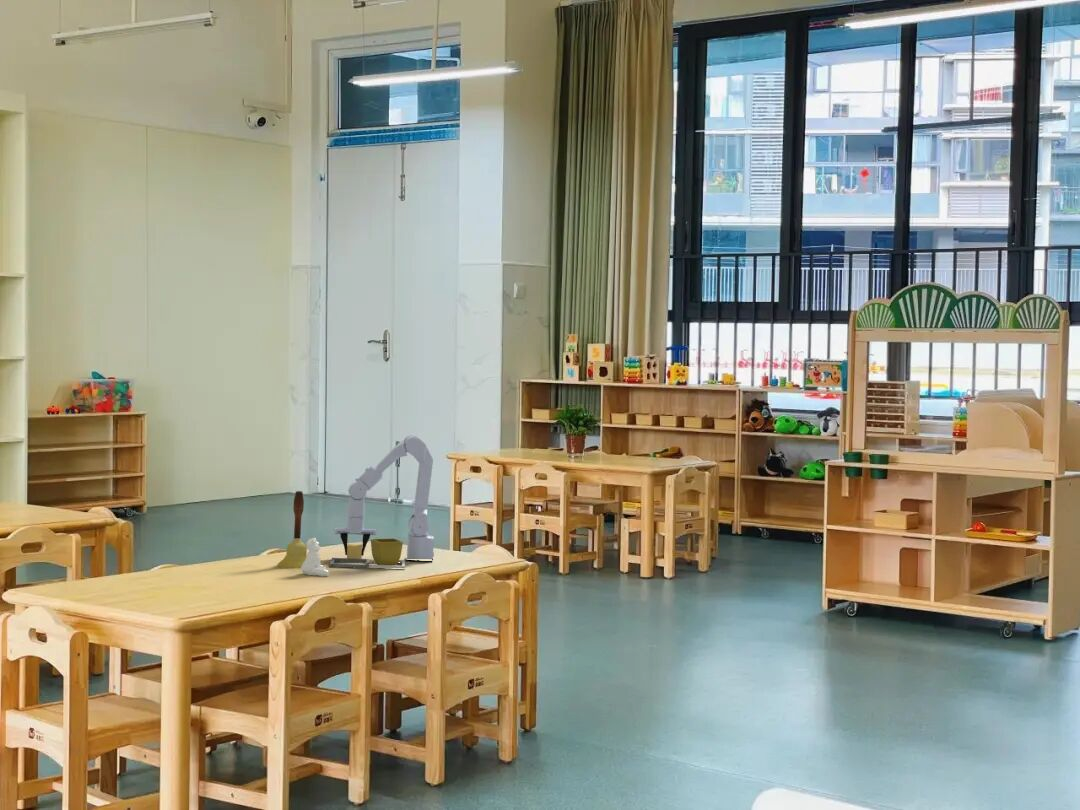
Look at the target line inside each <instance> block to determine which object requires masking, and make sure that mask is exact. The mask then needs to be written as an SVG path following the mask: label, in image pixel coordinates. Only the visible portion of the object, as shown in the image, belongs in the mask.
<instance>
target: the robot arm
mask: <svg viewBox="0 0 1080 810" xmlns="http://www.w3.org/2000/svg"><path fill="white" fill-rule="evenodd" d="M407 453H408V454H409V455H411V456H413V458H414V459H415V460H416V461H417V463H418V471H417V479H416V486H415V487H416V488H415V496H414V504H413V505H414V506H413V509H412V513H411V516H410V517H409V520H408V528H409V530H410V531H409V532H408V533H407V550H406V556H407V558H406V557H405V561H406V560H407V559H433V560H434V557H435V551H434V544H435V543H434V542H435V541H434V540H435V539H434V536H433V535H429V533H428V531H429V529H430V524H429V522H428V507H429V498H430V497H429V496H430V488H431V481H432V480H431V479H432V474H433V473H432V472H433V465H434V458H433V456H432V454H431V452H430V451H429V448H428V447H427V445H426V443H425V442H424V441H423V440H422V439H421V438H419V437H418V436H416V435H408V436H406V437H405V438H404V440H402V441H400V442H398V443H397V444H396V445H395V446H394V447H393V448H392V449H391V450H390V451H389V452H388V453H387V454H386V456H384V458H382V460H381V461H380V462H379V463H378V464H377V465H372V466H370V467H366V468H365V469H364V471H365V472H363V473H362V474H361V475H360V476H359V477H356V478H355V482H352V483H351V484H350V486H349V487H348V490H347V491H348V495H350V496H349V497H348V508H347V509H348V511H347V527H335V528H334V535H340V539H341V542H342V545H343V547H344V548H343V549H344V555H345V556H347V545H348V542H349V541H348V540H349V539H348V537H349V535H360V536H361V535H362V557H363V556H364V554H365V550H366V547H367V544H368V543H369V540H370V539H371V536H377V529H375V528H365V514H366V513H365V511H366V503H365V500H366V499H365V497H366V496H367V494H368V493H367V492H368V491H370V490H372V488H373V487H374V486H376V485H377V484H378V483H379V481H381V480H383V479H382V478H383V473H384V472H385V471H386V470H387V469H388V468H389V467H391V465H392V464H394V462H396V461H397V460H398V459H399V458H403V457H407V456H408V454H407Z"/></svg>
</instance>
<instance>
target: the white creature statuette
mask: <svg viewBox="0 0 1080 810" xmlns="http://www.w3.org/2000/svg"><path fill="white" fill-rule="evenodd" d="M305 545H306V548H307V551H308V552H307V553H306V555H307V557H306V560H305V561H304V562H303V564H302V566H301V568H300V569H301V572H302V574H304V575H305V574H308V575H307V576H310V575H319V576H318V577H323V576H327V577H329V575H330V574H329V573H330V571H329V570H328V569H327V566H325V565H323V564H321V556H320V551H319V550H321V547H320V542H318V540H317V538H316V537H311V538H310V539H308V540H307V541H306V543H305Z"/></svg>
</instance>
